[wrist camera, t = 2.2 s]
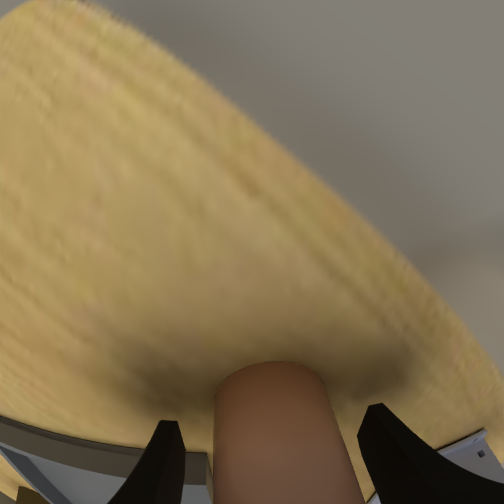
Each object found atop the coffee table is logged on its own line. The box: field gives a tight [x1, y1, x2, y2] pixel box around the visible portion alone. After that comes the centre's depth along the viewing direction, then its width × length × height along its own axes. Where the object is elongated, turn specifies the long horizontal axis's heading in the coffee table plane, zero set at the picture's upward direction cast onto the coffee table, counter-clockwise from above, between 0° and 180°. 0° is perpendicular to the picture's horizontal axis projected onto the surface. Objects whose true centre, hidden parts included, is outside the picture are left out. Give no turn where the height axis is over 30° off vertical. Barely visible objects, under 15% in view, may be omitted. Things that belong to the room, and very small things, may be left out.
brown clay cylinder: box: [213, 361, 365, 504], centre depth 9 cm, size 5×5×6 cm
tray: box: [0, 416, 213, 504], centre depth 14 cm, size 14×14×2 cm
